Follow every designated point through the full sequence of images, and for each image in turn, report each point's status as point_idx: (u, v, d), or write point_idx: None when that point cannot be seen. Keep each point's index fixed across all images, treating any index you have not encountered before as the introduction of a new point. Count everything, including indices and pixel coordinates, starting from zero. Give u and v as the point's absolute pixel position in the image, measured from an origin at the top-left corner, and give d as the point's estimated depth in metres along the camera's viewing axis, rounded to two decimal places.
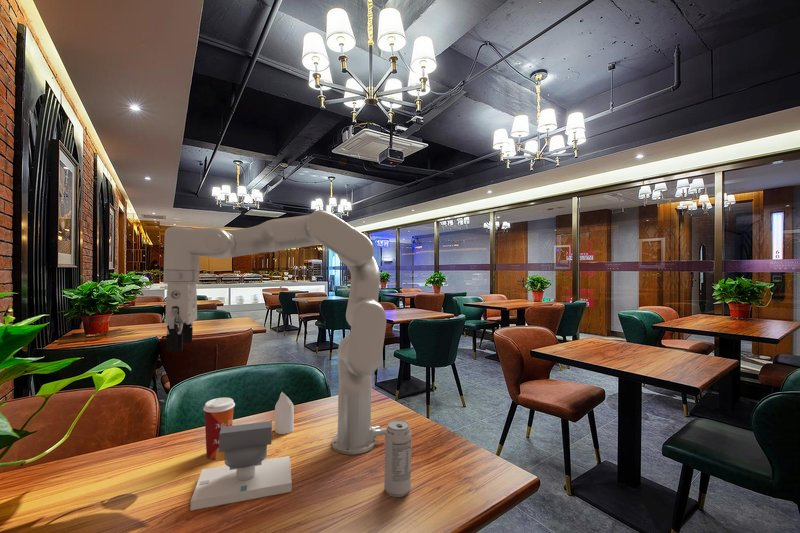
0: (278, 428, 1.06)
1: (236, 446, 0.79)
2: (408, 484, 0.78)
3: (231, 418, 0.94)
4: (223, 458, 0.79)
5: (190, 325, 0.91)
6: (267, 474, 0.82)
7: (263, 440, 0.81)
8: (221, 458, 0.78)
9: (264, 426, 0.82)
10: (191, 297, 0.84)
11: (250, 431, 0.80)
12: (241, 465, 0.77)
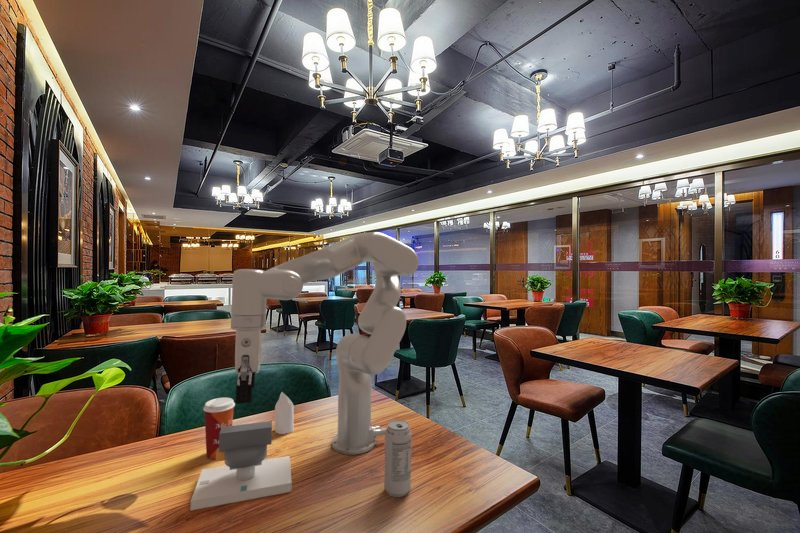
0: (278, 428, 1.06)
1: (236, 446, 0.79)
2: (408, 484, 0.78)
3: (231, 418, 0.94)
4: (223, 458, 0.79)
5: None
6: (267, 474, 0.82)
7: (263, 440, 0.81)
8: (221, 458, 0.78)
9: (264, 426, 0.82)
10: (259, 343, 0.80)
11: (250, 431, 0.80)
12: (241, 465, 0.77)
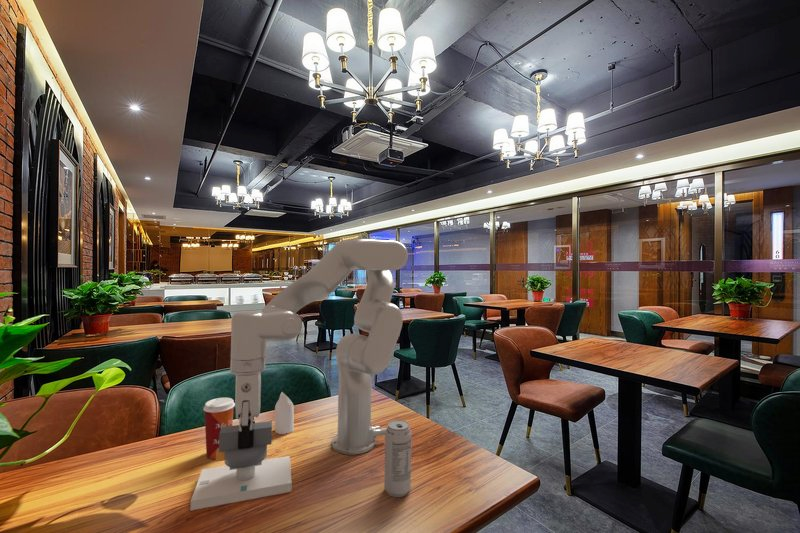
0: (278, 428, 1.06)
1: (236, 446, 0.79)
2: (408, 484, 0.78)
3: (231, 418, 0.94)
4: (223, 458, 0.79)
5: (252, 419, 0.84)
6: (267, 474, 0.82)
7: (263, 440, 0.81)
8: (221, 458, 0.78)
9: (264, 426, 0.82)
10: (259, 387, 0.80)
11: None
12: (241, 465, 0.77)
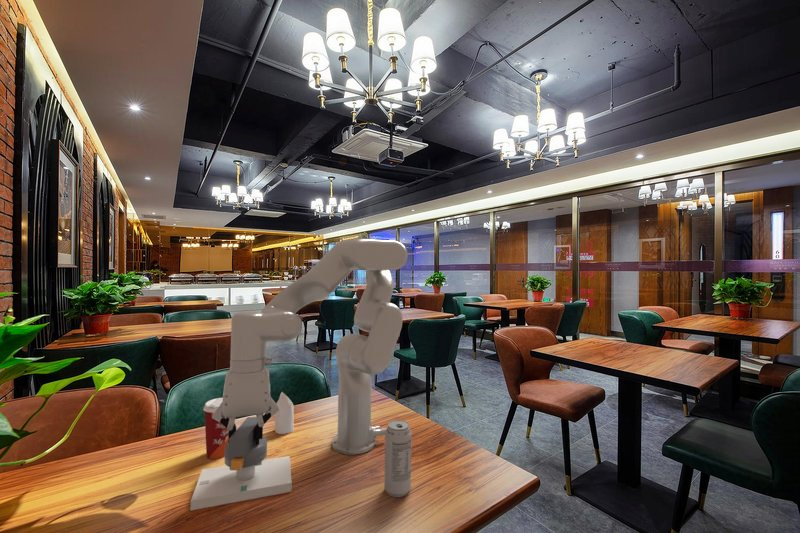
0: (278, 428, 1.06)
1: (251, 445, 0.79)
2: (408, 484, 0.78)
3: None
4: (243, 463, 0.76)
5: None
6: (267, 474, 0.82)
7: None
8: (242, 464, 0.76)
9: (255, 419, 0.85)
10: None
11: (255, 427, 0.82)
12: (264, 456, 0.81)
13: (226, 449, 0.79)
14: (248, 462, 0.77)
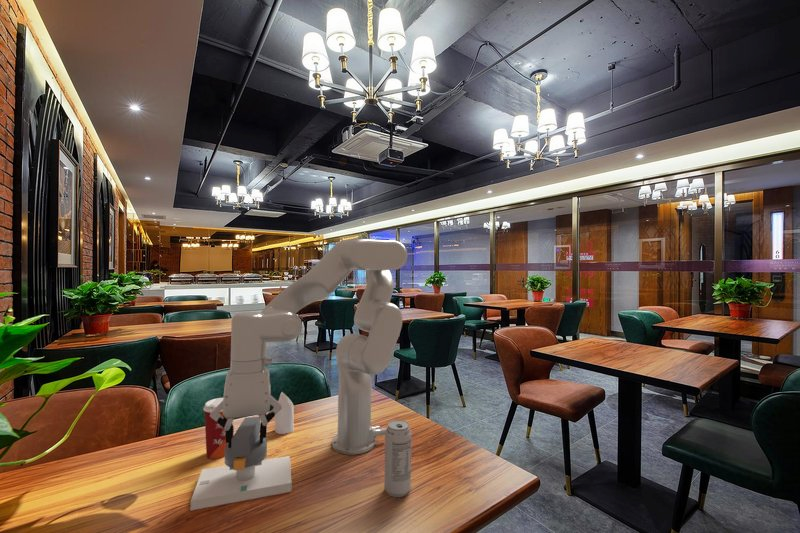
0: (278, 428, 1.06)
1: (252, 445, 0.79)
2: (408, 484, 0.78)
3: None
4: (245, 463, 0.77)
5: None
6: (267, 474, 0.82)
7: (258, 431, 0.85)
8: (244, 464, 0.76)
9: (253, 419, 0.85)
10: None
11: (255, 427, 0.82)
12: (265, 455, 0.81)
13: (226, 450, 0.78)
14: (250, 461, 0.77)
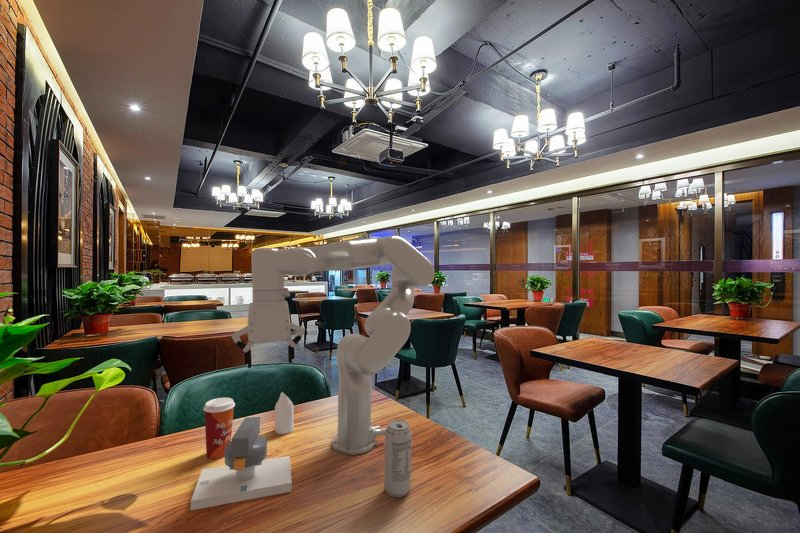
0: (278, 428, 1.06)
1: (252, 445, 0.79)
2: (408, 484, 0.78)
3: (231, 418, 0.94)
4: (245, 463, 0.77)
5: None
6: (267, 474, 0.82)
7: (258, 431, 0.85)
8: (244, 464, 0.76)
9: (253, 419, 0.85)
10: None
11: (255, 427, 0.82)
12: (265, 455, 0.81)
13: (226, 450, 0.78)
14: (250, 461, 0.77)
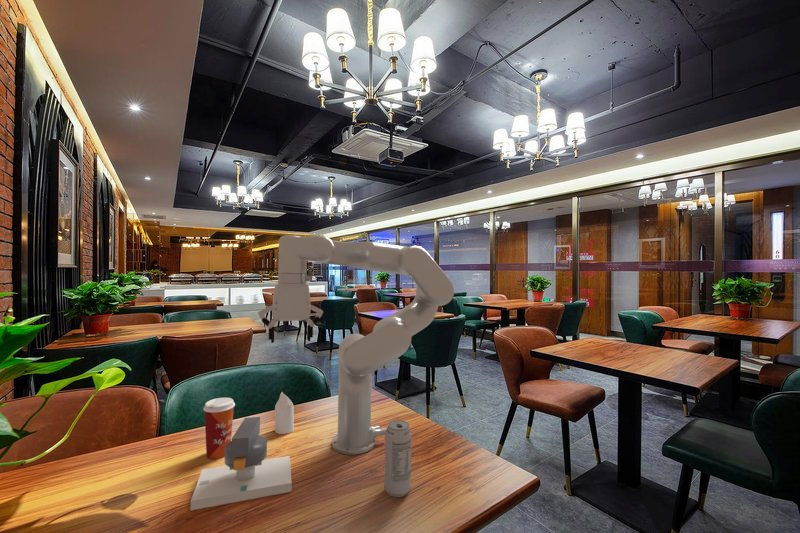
0: (278, 428, 1.06)
1: (252, 445, 0.79)
2: (408, 484, 0.78)
3: (231, 418, 0.94)
4: (245, 463, 0.77)
5: None
6: (267, 474, 0.82)
7: (258, 431, 0.85)
8: (244, 464, 0.76)
9: (253, 419, 0.85)
10: None
11: (255, 427, 0.82)
12: (265, 455, 0.81)
13: (226, 450, 0.78)
14: (250, 461, 0.77)
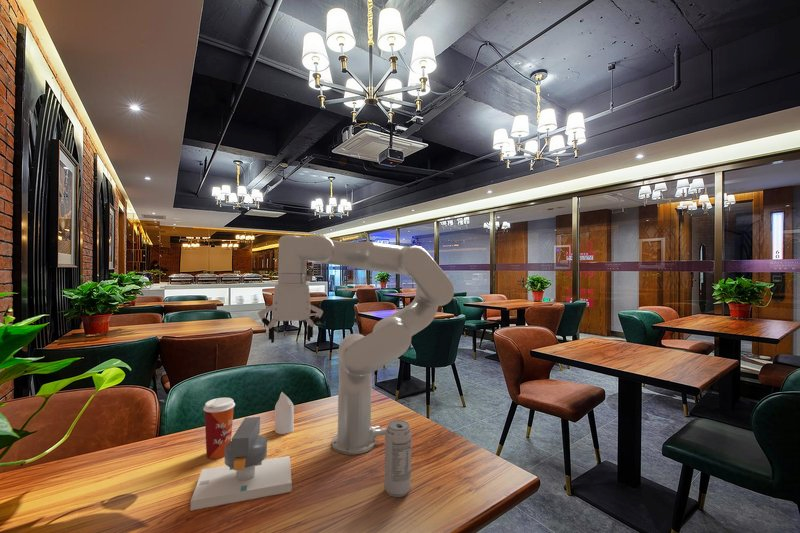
0: (278, 428, 1.06)
1: (252, 445, 0.79)
2: (408, 484, 0.78)
3: (231, 418, 0.94)
4: (245, 463, 0.77)
5: None
6: (267, 474, 0.82)
7: (258, 431, 0.85)
8: (244, 464, 0.76)
9: (253, 419, 0.85)
10: None
11: (255, 427, 0.82)
12: (265, 455, 0.81)
13: (226, 450, 0.78)
14: (250, 461, 0.77)
